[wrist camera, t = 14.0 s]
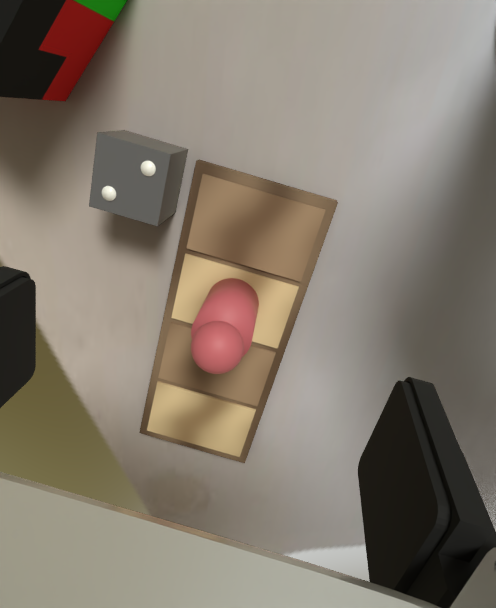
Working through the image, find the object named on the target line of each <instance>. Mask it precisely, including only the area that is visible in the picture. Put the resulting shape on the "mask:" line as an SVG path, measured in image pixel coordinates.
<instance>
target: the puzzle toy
mask: <svg viewBox="0 0 496 608" xmlns="http://www.w3.org/2000/svg"><path fill="white" fill-rule="evenodd" d="M126 2H127V0H0V97H13V98H27V99H41V100H55V101H66V99H67V98H68V96H69V94H70V93H71V91H72V90H73V88H74V86H75V85H76V83H77V81H78V80H79V78H80V77H81V75H82V73H83V72H84V70H85V68H86V67H87V65H88V64H89V62H90V60H91V59H92V57H93V55H94V54H95V52H96V50H97V49H98V47H99V46H100V44H101V42H102V41H103V39H104V37H105V36H106V34H107V33H108V31H109V29H110V28H111V26H112V24H113V23H114V21H115V20H116V18H117V16H118V15H119V13H120V11H121V10H122V8H123V7H124V5H125V3H126Z"/></svg>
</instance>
